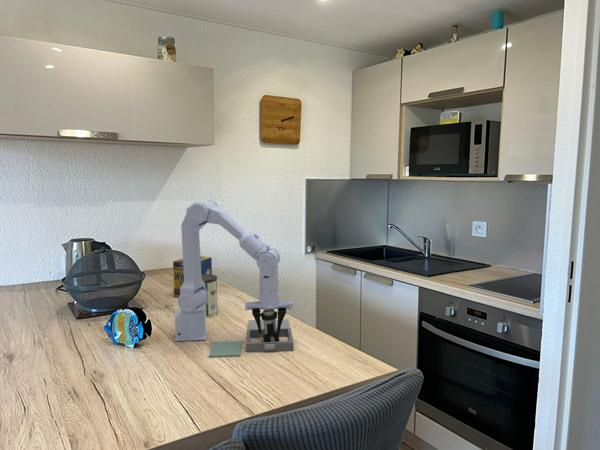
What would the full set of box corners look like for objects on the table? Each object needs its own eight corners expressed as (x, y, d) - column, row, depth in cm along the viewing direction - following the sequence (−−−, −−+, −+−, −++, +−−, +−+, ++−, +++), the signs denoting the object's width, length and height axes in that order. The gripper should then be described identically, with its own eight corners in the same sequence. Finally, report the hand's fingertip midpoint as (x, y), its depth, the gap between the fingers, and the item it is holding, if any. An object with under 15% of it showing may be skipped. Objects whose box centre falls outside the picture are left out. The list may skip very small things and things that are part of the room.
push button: (262, 347, 138) (259, 315, 137) (256, 342, 142) (253, 310, 141) (282, 342, 140) (280, 310, 139) (275, 337, 145) (273, 306, 144)
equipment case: (245, 353, 134) (245, 345, 133) (248, 323, 160) (248, 316, 160) (293, 351, 135) (293, 343, 135) (288, 322, 161) (288, 315, 161)
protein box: (173, 297, 194) (172, 261, 193) (192, 288, 209) (191, 255, 207) (195, 299, 191) (194, 262, 190) (212, 290, 206) (212, 256, 204)
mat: (208, 357, 131) (208, 355, 131) (212, 343, 142) (212, 341, 141) (240, 356, 131) (240, 354, 131) (242, 342, 142) (241, 340, 142)
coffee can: (194, 309, 177) (193, 273, 175) (220, 310, 176) (220, 274, 174) (185, 317, 167) (184, 280, 165) (213, 318, 166) (212, 280, 164)
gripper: (244, 292, 135) (245, 337, 137) (293, 291, 136) (293, 335, 138) (245, 286, 142) (245, 329, 143) (292, 285, 143) (292, 327, 145)
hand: (269, 331), depth 141 cm, fingers closed on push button, 5 cm apart
